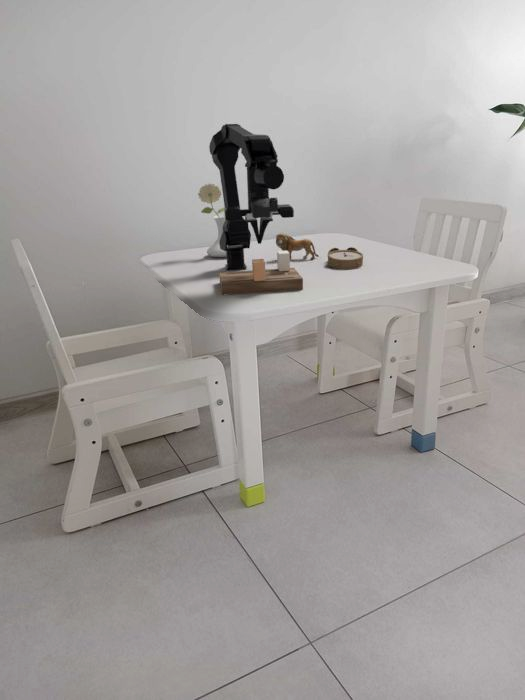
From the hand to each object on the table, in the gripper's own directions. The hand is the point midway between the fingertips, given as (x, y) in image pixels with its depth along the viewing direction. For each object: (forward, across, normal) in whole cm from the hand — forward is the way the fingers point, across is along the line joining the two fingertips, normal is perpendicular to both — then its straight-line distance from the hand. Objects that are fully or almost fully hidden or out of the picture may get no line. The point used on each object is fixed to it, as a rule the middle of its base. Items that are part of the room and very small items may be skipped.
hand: (259, 243), depth 143 cm
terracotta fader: (+8, -1, -10) cm, 12 cm away
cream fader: (+8, +7, -1) cm, 10 cm away
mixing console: (+11, -1, -5) cm, 12 cm away
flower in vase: (+13, -10, +39) cm, 42 cm away
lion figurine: (+12, +15, +26) cm, 33 cm away
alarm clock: (+12, +29, +16) cm, 35 cm away
